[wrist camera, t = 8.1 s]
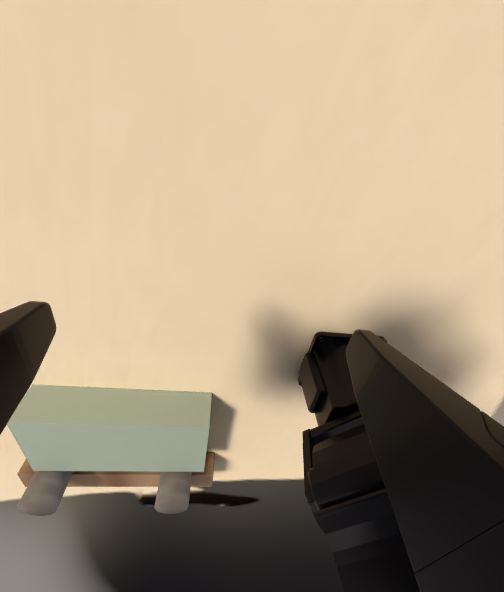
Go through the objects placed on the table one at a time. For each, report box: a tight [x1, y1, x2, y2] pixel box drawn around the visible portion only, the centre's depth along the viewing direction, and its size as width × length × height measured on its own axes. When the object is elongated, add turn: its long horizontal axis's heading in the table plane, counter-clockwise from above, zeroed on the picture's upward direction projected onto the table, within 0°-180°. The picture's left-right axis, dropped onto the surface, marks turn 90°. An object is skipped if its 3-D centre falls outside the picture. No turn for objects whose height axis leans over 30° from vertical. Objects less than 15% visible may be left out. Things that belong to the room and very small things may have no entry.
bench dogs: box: [17, 452, 214, 516], centre depth 30 cm, size 20×6×6 cm, turn 81°
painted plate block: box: [7, 385, 212, 472], centre depth 27 cm, size 16×8×4 cm, turn 81°
